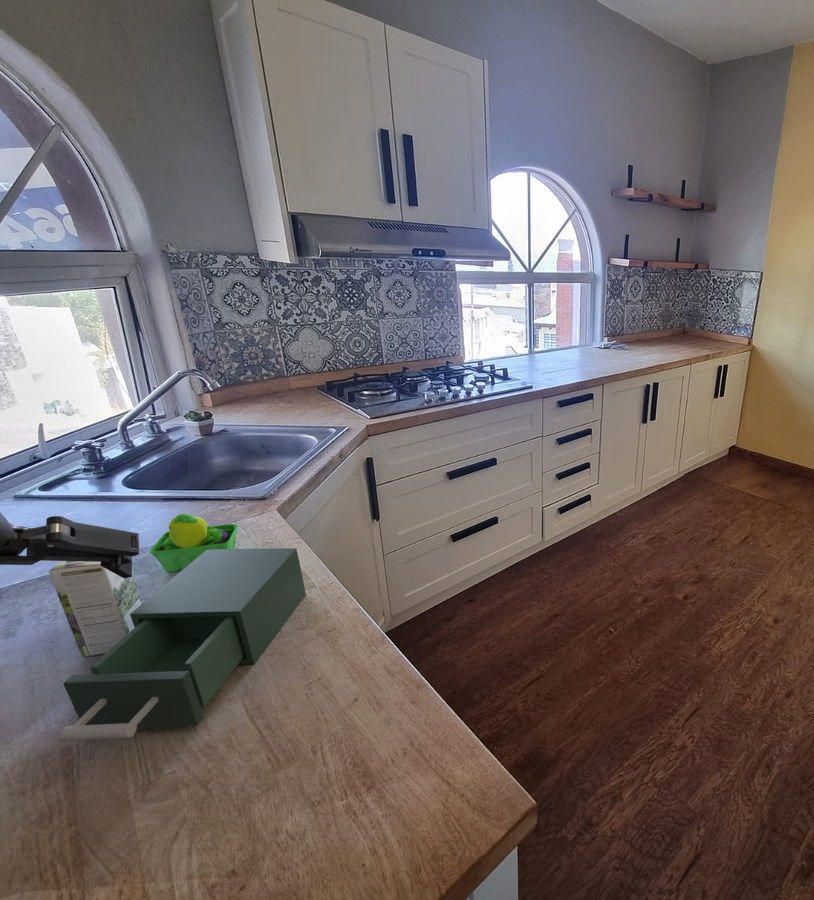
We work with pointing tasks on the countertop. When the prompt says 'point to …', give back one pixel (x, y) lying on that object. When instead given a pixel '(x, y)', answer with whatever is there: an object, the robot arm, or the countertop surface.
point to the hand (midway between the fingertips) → (52, 582)
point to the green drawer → (154, 677)
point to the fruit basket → (191, 541)
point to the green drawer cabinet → (234, 593)
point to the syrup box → (95, 604)
